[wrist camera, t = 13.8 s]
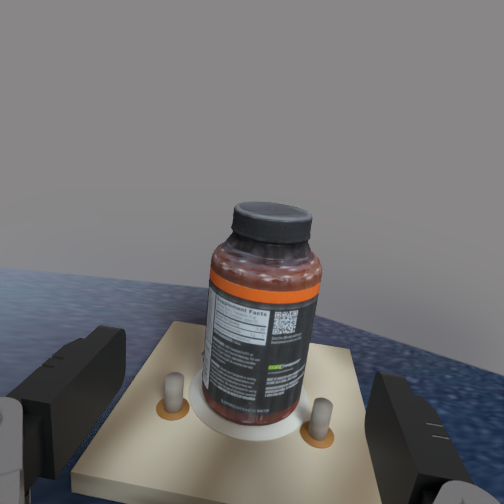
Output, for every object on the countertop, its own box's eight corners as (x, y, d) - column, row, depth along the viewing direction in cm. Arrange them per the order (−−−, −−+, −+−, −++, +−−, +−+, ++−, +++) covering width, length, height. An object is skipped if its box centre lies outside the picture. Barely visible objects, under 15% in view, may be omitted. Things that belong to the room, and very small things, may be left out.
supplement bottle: (244, 353, 26) (264, 194, 22) (317, 395, 22) (354, 216, 19) (178, 391, 21) (190, 200, 18) (257, 452, 18) (291, 229, 14)
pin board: (71, 492, 16) (69, 435, 15) (173, 333, 29) (175, 298, 28) (391, 557, 15) (410, 501, 14) (346, 362, 28) (354, 326, 27)
